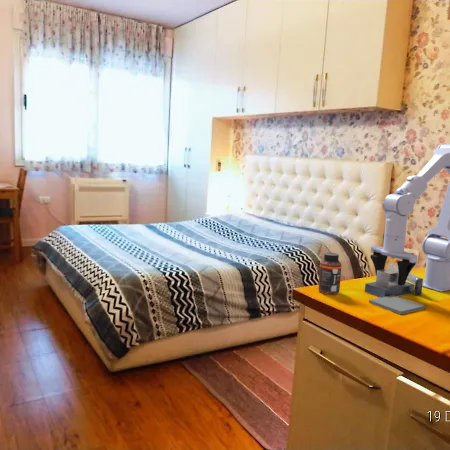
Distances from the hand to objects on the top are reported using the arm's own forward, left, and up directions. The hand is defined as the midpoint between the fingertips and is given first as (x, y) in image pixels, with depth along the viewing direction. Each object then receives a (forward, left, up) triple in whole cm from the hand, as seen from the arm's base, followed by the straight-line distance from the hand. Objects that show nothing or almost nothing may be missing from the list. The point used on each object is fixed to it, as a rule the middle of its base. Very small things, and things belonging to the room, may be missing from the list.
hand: (390, 281), depth 129 cm
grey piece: (0, 0, -3) cm, 3 cm away
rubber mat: (+8, +9, -3) cm, 13 cm away
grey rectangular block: (0, 0, -1) cm, 1 cm away
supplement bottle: (+16, -8, -3) cm, 19 cm away
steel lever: (-9, -2, -3) cm, 10 cm away
